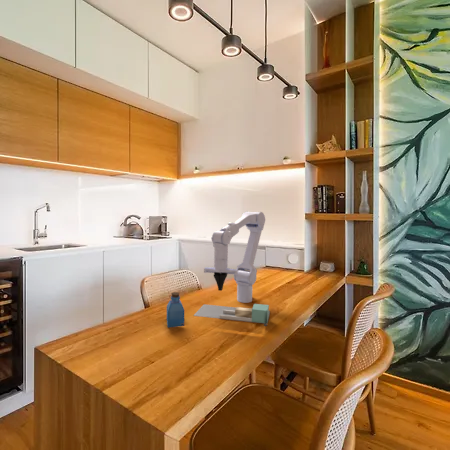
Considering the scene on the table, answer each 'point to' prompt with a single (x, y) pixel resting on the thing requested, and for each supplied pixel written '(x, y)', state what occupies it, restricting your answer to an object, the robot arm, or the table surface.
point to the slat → (243, 312)
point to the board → (222, 312)
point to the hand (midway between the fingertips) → (220, 289)
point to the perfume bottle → (175, 311)
